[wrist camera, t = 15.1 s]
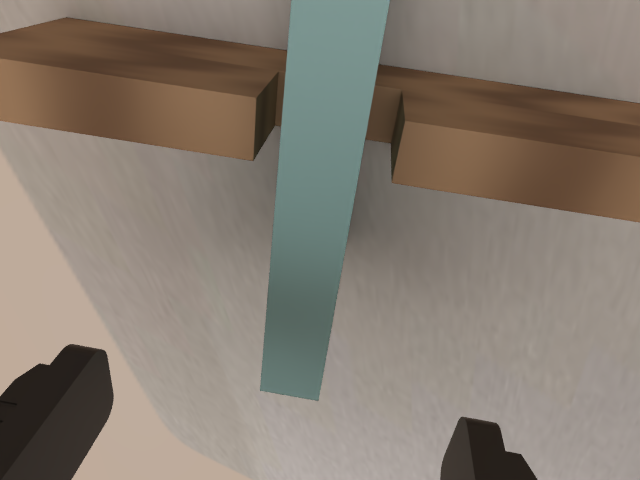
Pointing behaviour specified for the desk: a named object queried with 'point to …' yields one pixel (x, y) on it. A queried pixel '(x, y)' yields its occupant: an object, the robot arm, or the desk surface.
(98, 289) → the desk surface
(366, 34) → the notched plate
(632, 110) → the slotted board
